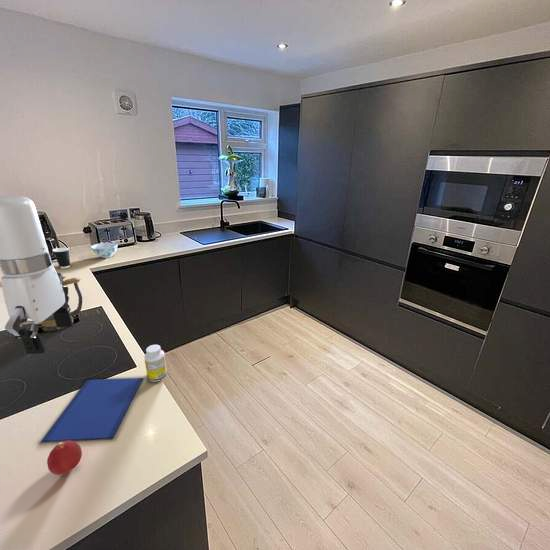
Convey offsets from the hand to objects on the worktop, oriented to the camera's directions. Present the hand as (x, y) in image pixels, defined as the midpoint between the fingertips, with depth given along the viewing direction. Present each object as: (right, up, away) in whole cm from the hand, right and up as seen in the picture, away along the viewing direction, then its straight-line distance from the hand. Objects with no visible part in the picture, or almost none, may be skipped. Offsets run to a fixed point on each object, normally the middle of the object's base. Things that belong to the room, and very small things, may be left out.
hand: (52, 338), depth 61 cm
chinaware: (-65, +26, +130) cm, 148 cm away
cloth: (+1, -22, +15) cm, 26 cm away
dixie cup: (-78, +18, +111) cm, 137 cm away
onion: (+4, -28, 0) cm, 28 cm away
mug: (-36, -6, +53) cm, 65 cm away
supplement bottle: (+12, -18, +26) cm, 34 cm away
